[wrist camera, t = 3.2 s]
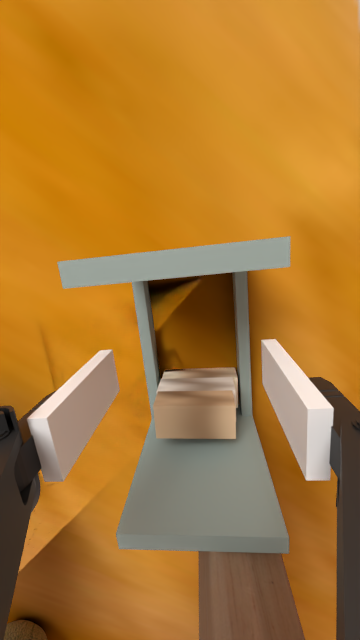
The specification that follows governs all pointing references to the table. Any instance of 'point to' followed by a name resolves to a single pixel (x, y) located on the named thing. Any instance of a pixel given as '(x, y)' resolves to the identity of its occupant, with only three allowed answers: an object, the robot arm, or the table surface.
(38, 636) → the fruit
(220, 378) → the offcut mid
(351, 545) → the robot arm
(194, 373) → the offcut low
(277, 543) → the rack
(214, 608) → the wooden block
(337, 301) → the table surface
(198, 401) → the offcut top
